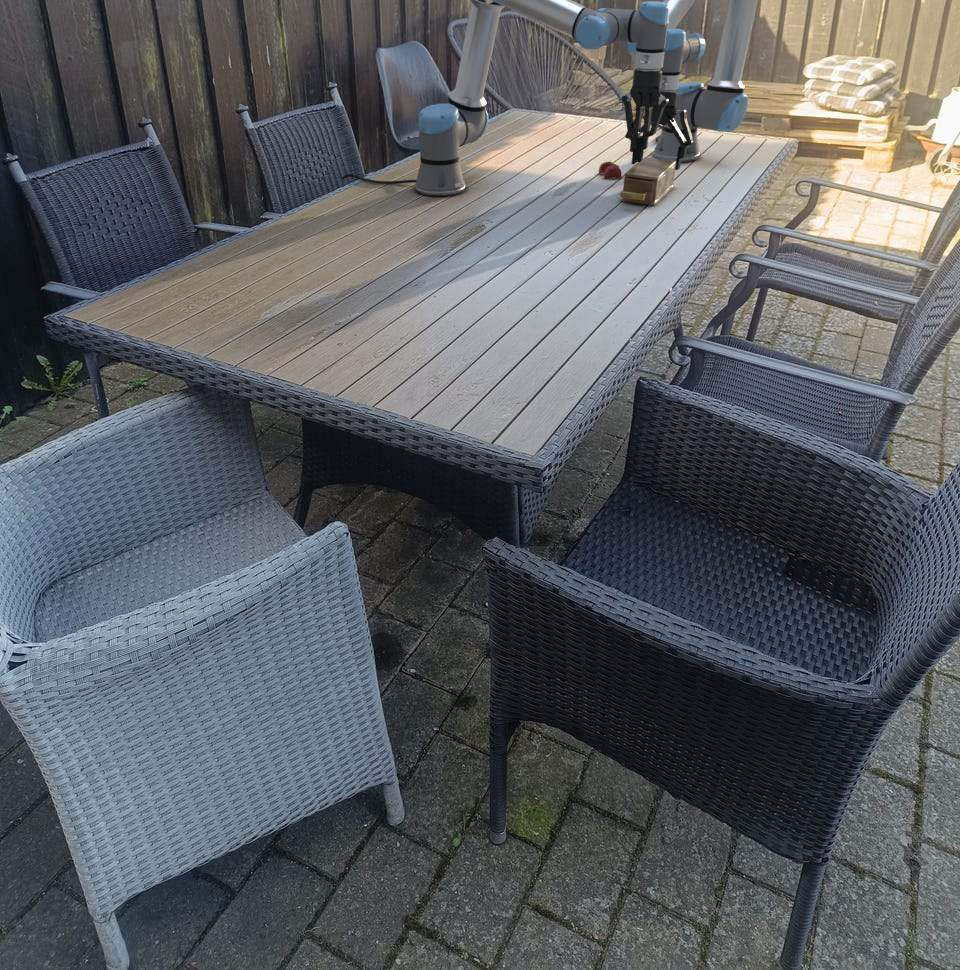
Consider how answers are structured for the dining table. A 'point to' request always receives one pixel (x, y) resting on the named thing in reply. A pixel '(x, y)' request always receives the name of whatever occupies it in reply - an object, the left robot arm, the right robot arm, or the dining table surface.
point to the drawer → (638, 190)
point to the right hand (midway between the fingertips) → (655, 166)
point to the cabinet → (654, 176)
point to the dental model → (610, 170)
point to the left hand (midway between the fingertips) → (638, 160)
